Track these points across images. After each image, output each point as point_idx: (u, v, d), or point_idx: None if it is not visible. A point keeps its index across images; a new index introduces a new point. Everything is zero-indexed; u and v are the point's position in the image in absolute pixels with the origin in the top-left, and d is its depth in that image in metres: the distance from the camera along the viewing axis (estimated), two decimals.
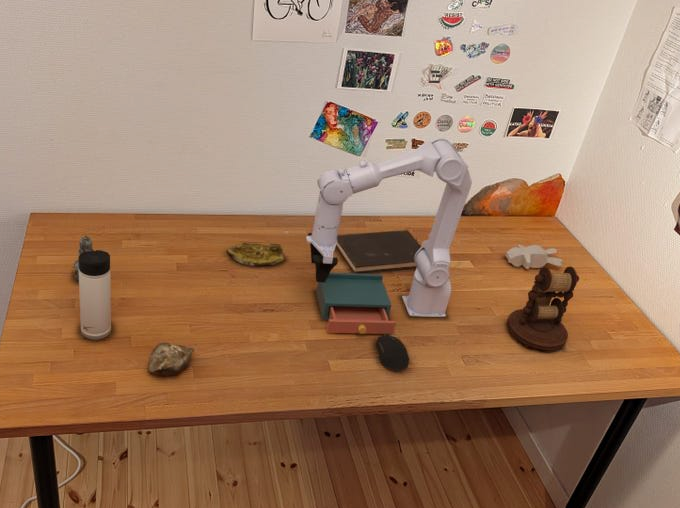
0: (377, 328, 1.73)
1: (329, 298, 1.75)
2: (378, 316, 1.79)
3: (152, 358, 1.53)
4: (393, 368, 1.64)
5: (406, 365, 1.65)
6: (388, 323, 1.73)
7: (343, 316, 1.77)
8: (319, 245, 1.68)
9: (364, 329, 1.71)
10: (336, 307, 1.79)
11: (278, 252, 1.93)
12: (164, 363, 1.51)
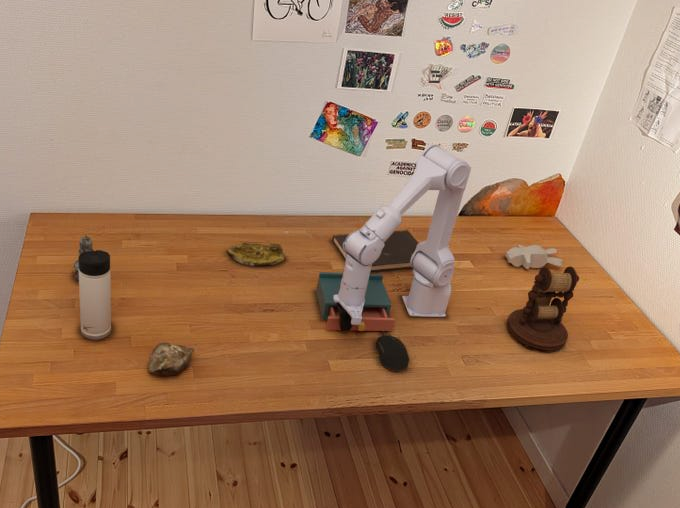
0: (376, 325, 1.74)
1: (329, 298, 1.75)
2: (377, 313, 1.80)
3: (152, 358, 1.53)
4: (393, 368, 1.64)
5: (406, 365, 1.65)
6: (387, 321, 1.74)
7: None
8: (347, 305, 1.64)
9: (363, 326, 1.72)
10: None
11: (278, 252, 1.93)
12: (164, 363, 1.51)
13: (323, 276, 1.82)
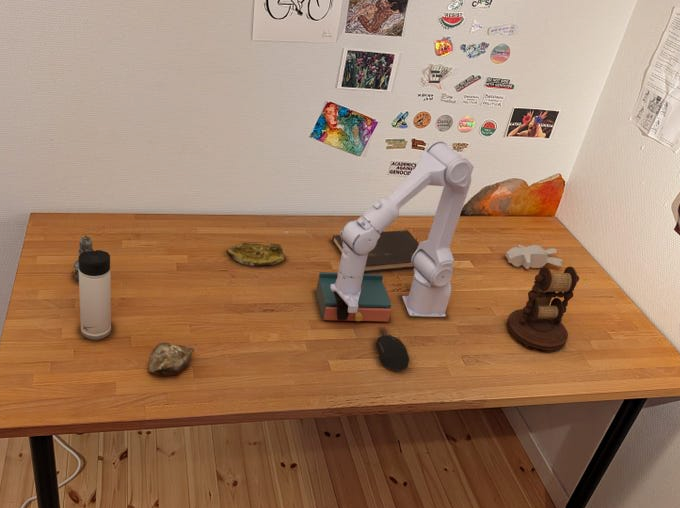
0: (373, 316, 1.77)
1: (329, 298, 1.75)
2: None
3: (152, 358, 1.53)
4: (393, 368, 1.64)
5: (406, 365, 1.65)
6: (384, 311, 1.77)
7: None
8: (344, 294, 1.67)
9: (360, 317, 1.75)
10: None
11: (278, 252, 1.93)
12: (164, 363, 1.51)
13: (323, 276, 1.82)
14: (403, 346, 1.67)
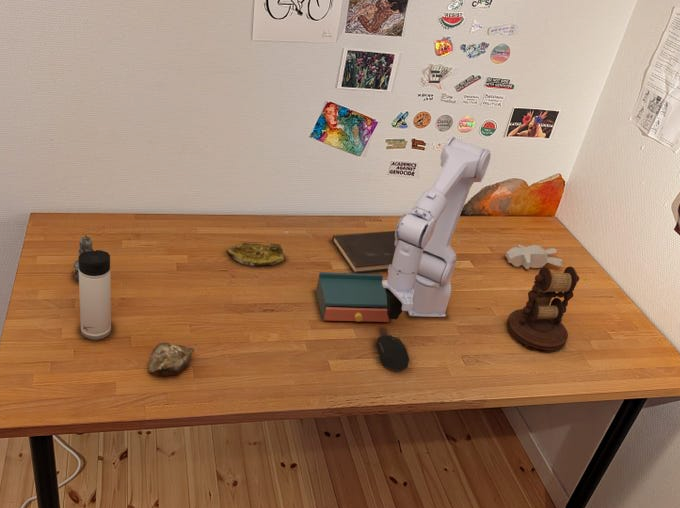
0: (373, 316, 1.77)
1: (329, 298, 1.75)
2: None
3: (152, 358, 1.53)
4: (393, 368, 1.64)
5: (406, 365, 1.65)
6: (384, 311, 1.76)
7: None
8: (397, 291, 1.58)
9: (361, 317, 1.75)
10: None
11: (278, 252, 1.93)
12: (164, 363, 1.51)
13: (323, 276, 1.82)
14: (403, 346, 1.67)
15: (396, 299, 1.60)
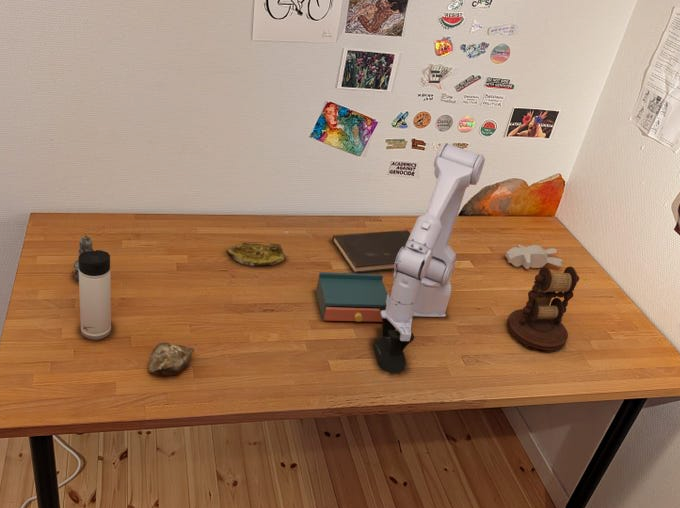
0: (373, 316, 1.77)
1: (329, 298, 1.75)
2: None
3: (152, 358, 1.53)
4: (390, 370, 1.64)
5: (403, 367, 1.65)
6: None
7: None
8: (395, 321, 1.62)
9: (361, 317, 1.75)
10: None
11: (278, 252, 1.93)
12: (164, 363, 1.51)
13: (323, 276, 1.82)
14: None
15: (398, 338, 1.60)
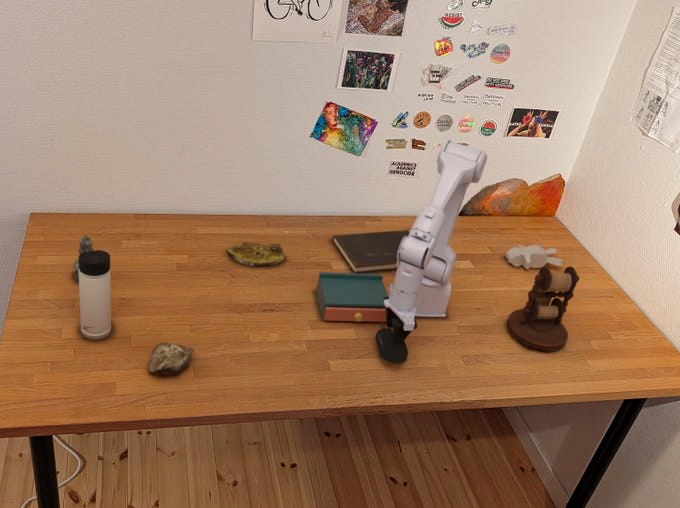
0: (373, 316, 1.77)
1: (329, 298, 1.75)
2: None
3: (152, 358, 1.53)
4: (392, 361, 1.63)
5: (405, 358, 1.64)
6: (384, 311, 1.76)
7: None
8: (398, 310, 1.60)
9: (361, 317, 1.75)
10: None
11: (278, 252, 1.93)
12: (164, 363, 1.51)
13: (323, 276, 1.82)
14: None
15: (401, 326, 1.60)
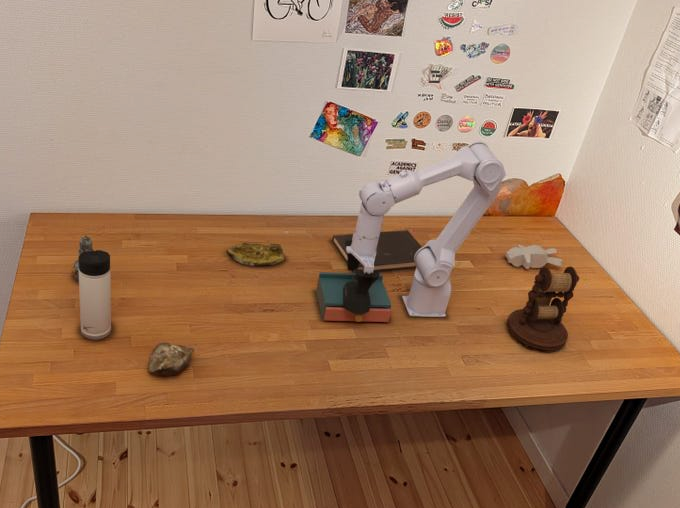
0: (373, 316, 1.77)
1: (329, 298, 1.75)
2: None
3: (152, 358, 1.53)
4: (353, 311, 1.71)
5: (366, 310, 1.72)
6: (384, 311, 1.76)
7: None
8: (359, 255, 1.70)
9: (361, 317, 1.75)
10: None
11: (278, 252, 1.93)
12: (164, 363, 1.51)
13: (323, 276, 1.82)
14: None
15: (363, 276, 1.68)
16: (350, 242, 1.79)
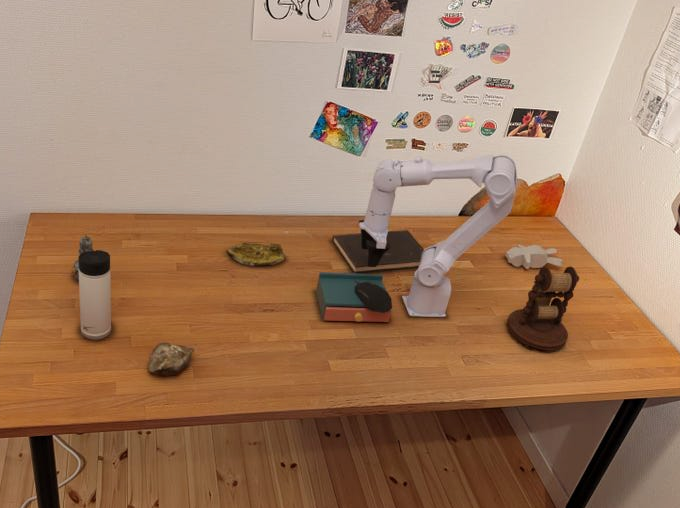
0: (373, 316, 1.77)
1: (329, 298, 1.75)
2: None
3: (152, 358, 1.53)
4: (382, 310, 1.72)
5: (391, 305, 1.74)
6: None
7: None
8: (372, 231, 1.76)
9: (361, 317, 1.75)
10: None
11: (278, 252, 1.93)
12: (164, 363, 1.51)
13: (323, 276, 1.82)
14: (383, 289, 1.76)
15: (375, 247, 1.74)
16: (364, 221, 1.83)
